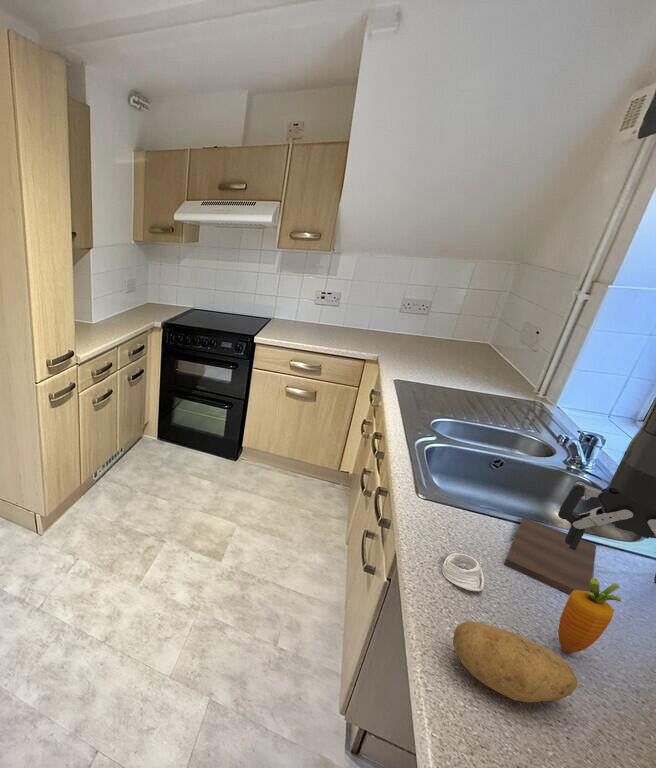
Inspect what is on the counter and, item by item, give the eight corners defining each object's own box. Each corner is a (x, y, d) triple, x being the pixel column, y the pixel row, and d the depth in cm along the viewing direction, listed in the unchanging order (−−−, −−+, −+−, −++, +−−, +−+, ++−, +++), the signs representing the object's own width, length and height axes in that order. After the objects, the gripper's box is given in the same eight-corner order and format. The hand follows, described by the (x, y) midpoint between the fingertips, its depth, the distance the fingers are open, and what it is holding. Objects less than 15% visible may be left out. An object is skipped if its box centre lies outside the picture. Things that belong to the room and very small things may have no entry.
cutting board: (520, 522, 96) (522, 516, 96) (593, 550, 88) (596, 545, 87) (503, 564, 84) (506, 558, 83) (587, 602, 75) (590, 596, 75)
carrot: (580, 647, 67) (620, 576, 62) (592, 673, 63) (635, 600, 58) (540, 632, 69) (575, 563, 64) (549, 656, 65) (587, 585, 60)
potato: (577, 740, 55) (602, 700, 52) (449, 689, 60) (465, 650, 58) (549, 674, 63) (569, 636, 60) (439, 634, 69) (453, 598, 66)
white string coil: (485, 603, 76) (497, 586, 73) (443, 587, 78) (453, 569, 76) (476, 571, 82) (487, 554, 80) (437, 557, 85) (447, 540, 82)
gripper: (753, 481, 51) (689, 581, 57) (591, 438, 61) (550, 526, 67) (762, 505, 47) (691, 611, 52) (586, 454, 57) (543, 547, 63)
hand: (612, 563), depth 60 cm, fingers open, 8 cm apart
